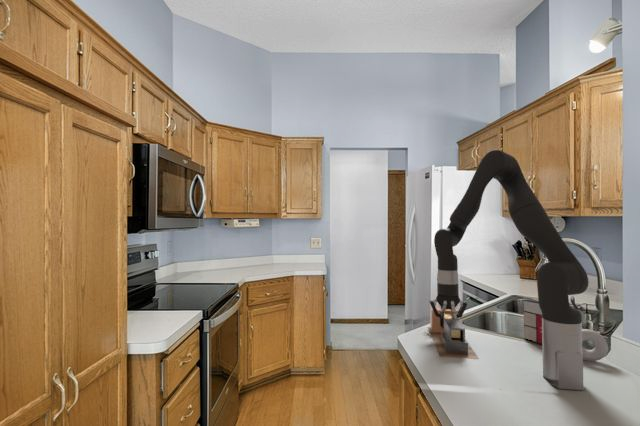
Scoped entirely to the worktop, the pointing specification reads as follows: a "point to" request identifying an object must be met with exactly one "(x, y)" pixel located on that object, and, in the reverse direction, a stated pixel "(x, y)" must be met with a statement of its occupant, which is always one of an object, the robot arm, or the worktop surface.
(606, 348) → the donut
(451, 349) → the sleeve
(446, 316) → the yellow square peg
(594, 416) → the worktop surface
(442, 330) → the socket block
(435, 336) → the base board
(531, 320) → the grey and red box
